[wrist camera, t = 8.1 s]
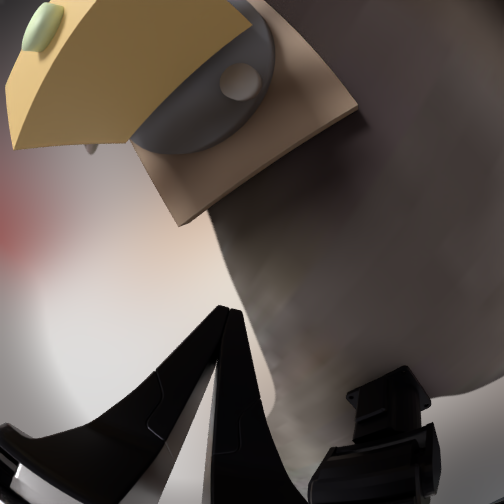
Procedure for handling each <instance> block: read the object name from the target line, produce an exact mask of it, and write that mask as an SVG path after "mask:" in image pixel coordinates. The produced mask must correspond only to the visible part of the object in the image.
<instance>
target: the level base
mask: <svg viewBox="0 0 504 504" xmlns="http://www.w3.org/2000/svg"><path fill="white" fill-rule="evenodd" d="M227 1H228V2H229V3H230V4H231V5H232V6H234V7H235V8H236V9H237V10H238V11H239V12H240V13H241V14H242V15H243V16H244V17H245V18H246V19H247V20H248V21H249V22H250V23H251V24H252V26H251V27H249V28H248V29H246V30H245V31H244V32H242V33H241V34H239V35H238V36H237V37H235V38H234V39H233V40H232V41H230V42H229V43H228V44H226V45H225V46H224V47H223V48H221V49H220V50H219V51H218V52H216V53H215V54H214V55H213V56H212V57H210V58H209V59H208V60H207V61H206V62H204V63H203V64H202V65H201V66H200V67H199V68H198V69H196V70H195V71H194V72H193V73H192V74H191V75H190V76H189V77H188V78H187V79H185V80H184V81H183V82H182V83H181V84H180V85H179V86H178V87H177V88H176V89H175V90H174V91H173V92H172V93H171V94H170V95H169V96H168V97H167V98H166V99H165V100H164V101H163V102H162V103H161V104H160V105H159V106H158V107H157V108H156V109H155V110H154V111H153V112H152V114H151V115H150V116H149V117H148V118H147V119H146V120H145V121H144V122H143V123H142V125H141V126H140V127H139V128H138V129H137V130H136V131H135V133H134V134H133V135H132V136H131V137H130V138H129V139H130V141H131V143H132V145H133V147H134V149H135V151H136V153H137V154H138V156H139V158H140V160H141V162H142V164H143V166H144V167H145V169H146V171H147V173H148V175H149V176H150V178H151V180H152V182H153V184H154V185H155V187H156V189H157V191H158V192H159V194H160V196H161V197H162V199H163V201H164V203H165V205H166V206H167V208H168V210H169V212H170V213H171V215H172V217H173V218H174V220H175V222H176V223H177V225H178V227H180V226H182V225H185V224H188V223H190V222H191V221H192V220H194V219H195V218H196V217H198V216H199V215H200V214H202V213H203V212H204V211H206V210H207V209H208V208H210V207H211V206H212V205H214V204H215V203H216V202H218V201H219V200H221V199H222V198H223V197H225V196H226V195H228V194H229V193H230V192H232V191H233V190H235V189H236V188H237V187H239V186H240V185H242V184H243V183H244V182H246V181H247V180H249V179H250V178H252V177H253V176H254V175H256V174H257V173H259V172H260V171H262V170H263V169H265V168H266V167H268V166H269V165H271V164H272V163H274V162H275V161H277V160H278V159H280V158H281V157H283V156H284V155H286V154H287V153H289V152H290V151H292V150H293V149H295V148H296V147H298V146H299V145H301V144H302V143H304V142H306V141H307V140H309V139H310V138H312V137H313V136H315V135H317V134H318V133H320V132H321V131H323V130H325V129H326V128H328V127H330V126H331V125H333V124H334V123H336V122H338V121H339V120H341V119H343V118H344V117H346V116H348V115H349V114H351V113H353V112H354V111H356V110H358V104H357V103H356V102H355V100H354V99H353V97H352V96H351V95H350V93H349V92H348V91H347V89H346V88H345V87H344V86H343V84H342V83H341V82H340V80H339V79H338V78H337V77H336V75H335V74H334V73H333V72H332V70H331V69H330V68H329V67H328V66H327V64H326V63H325V62H324V61H323V60H322V59H321V57H320V56H319V55H318V54H317V53H316V52H315V51H314V49H313V48H312V47H311V46H310V45H309V44H308V43H307V42H306V41H305V40H304V39H303V38H302V37H301V35H300V34H299V33H298V32H297V31H296V30H295V29H294V28H293V27H292V26H291V25H290V24H289V23H288V22H287V21H286V20H285V19H284V18H283V17H281V16H280V15H279V14H278V13H277V12H276V11H275V10H274V9H273V8H272V7H271V6H270V5H268V4H267V3H266V2H265V1H264V0H227Z"/></svg>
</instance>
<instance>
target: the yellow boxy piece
mask: <svg viewBox="0 0 504 504" xmlns="http://www.w3.org/2000/svg"><path fill="white" fill-rule="evenodd" d="M251 26H252V24H251V23H250V22H249V21H248V20H247V19H246V18H245V17H244V16H243V15H242V14H241V13H240V12H239V11H238V10H237V9H236V8H235V7H234V6H232V5H231V4H230V3H229V2H228V1H227V0H51V1H50V2H49V3H46V2H45V3H43V4H42V5H41V6H40V7H39V8H38V9H37V11H36V12H35V14H34V15H33V17H32V19H31V20H30V22H29V24H28V27H27V29H26V32H25V34H24V37H23V42H22V50H21V52H20V54H19V57H18V58H17V61H16V63H15V65H14V67H13V69H12V72H11V74H10V76H9V79H8V81H7V84H6V86H5V89H6V102H7V112H8V119H9V127H10V133H11V139H12V145H13V150H20V149H28V148H38V147H49V146H61V145H78V144H107V143H108V144H111V143H126V142H127V141H128V140H129V138H130V137H131V136H132V135H133V134H134V133H135V131H136V130H137V129H138V128H139V127H140V126H141V125H142V123H143V122H144V121H145V120H146V119H147V118H148V117H149V116H150V115H151V114H152V112H153V111H154V110H155V109H156V108H157V107H158V106H159V105H160V104H161V103H162V102H163V101H164V100H165V99H166V98H167V97H168V96H169V95H170V94H171V93H172V92H173V91H174V90H175V89H176V88H177V87H178V86H179V85H180V84H181V83H182V82H183V81H184V80H185V79H187V78H188V77H189V76H190V75H191V74H192V73H193V72H194V71H195V70H196V69H198V68H199V67H200V66H201V65H202V64H203V63H204V62H206V61H207V60H208V59H209V58H210V57H212V56H213V55H214V54H215V53H216V52H218V51H219V50H220V49H221V48H223V47H224V46H225V45H226V44H228V43H229V42H230V41H232V40H233V39H234V38H235V37H237V36H238V35H239V34H241V33H242V32H244V31H245V30H246V29H248V28H249V27H251Z"/></svg>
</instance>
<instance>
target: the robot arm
mask: <svg viewBox="0 0 504 504" xmlns="http://www.w3.org/2000/svg"><path fill="white" fill-rule="evenodd" d="M216 363H217V364H216ZM215 366H216V371H215V380H214V388H213V396H212V405H211V414H210V424H209V432H208V433H209V434H208V443H207V452H206V462H205V472H204V483H203V494H202V504H430V496H433V495H436V494H437V489H438V485H439V480H440V475H441V456H440V446H439V442H438V438H437V435H436V431H435V427H434V424H433V422H432V423H429V424H427V425H426V426H423V427H421V411H423V410H425V409H427V408H429V407H430V406H431V400H430V398H429V397H428V395H427V394H426V392H425V391H424V389H423V388H422V386H421V385H420V383H419V382H418V380H417V379H416V377H415V376H414V374H413V373H412V371H411V370H410V369H409V367H408V366H401V367H399V368H398V369H396V370H394V371H392V372H390V373H388V374H386V375H384V376H382V377H380V378H378V379H376V380H374V381H372V382H369V383H367V384H365V385H363V386H361V387H359V388H356V389H354V390H352V391H349V392H348V393H347V395H346V399H347V400H348V401H349V402H350V403H351V404H352V406H353V407H354V408H355V409H356V415H355V422H356V423H355V429H354V435H353V440H352V441H353V442H354V443H355V444H354V445H349V446H343V447H331V448H330V449H329V451H328V453H327V454H326V456H325V458H324V459H323V461H322V462H321V464H320V466H319V467H318V469H317V470H316V472H315V473H314V475H313V476H312V478H311V480H310V482H309V484H308V502H309V503H308V502H307V501H306V500H305V498H304V497H303V496H302V495H301V494H300V492H299V491H298V490H297V489H296V487H295V486H294V485H293V483H292V482H291V480H290V478H289V476H288V475H287V473H286V470H285V468H284V466H283V463H282V461H281V459H280V456H279V454H278V451H277V449H276V446H275V444H274V441H273V439H272V436H271V433H270V430H269V427H268V425H267V421H266V417H265V414H264V410H263V406H262V401H261V399H260V393H259V389H258V384H257V379H256V374H255V371H254V365H253V360H252V356H251V351H250V346H249V342H248V338H247V332H246V327H245V322H244V317H243V313H242V311H241V310H237V309H229V308H228V307H225V306H221V305H218V306H217V307H216V308H215V309H214V310H213V311H212V312H211V313H210V314H209V315H208V316H207V317H206V318H205V319H204V320H203V321H202V322H201V323H200V324H199V325H198V326H197V327H196V328H195V330H193V331H192V332H191V334H190V335H189V336H188V337H187V338H186V339H185V340H184V341H183V342H182V343H181V344H180V345H179V346H178V347H177V348H176V349H175V350H174V351H173V352H172V353H171V354H170V355H169V356H168V357H167V358H166V359H165V360H164V361H163V362H162V363H161V364H160V366H159V367H157V368H156V371H153V372H152V373H151V374H150V375H149V376H148V377H147V379H145V380H144V381H143V382H142V383H141V384H140V385H139V386H138V387H137V388H136V389H135V390H133V391H132V392H131V393H130V394H129V395H127V396H126V397H125V398H124V399H122V400H121V401H120V402H118V403H117V404H115V405H114V406H113V407H111V408H110V409H109V410H107V411H106V412H105V413H103V414H102V415H101V416H99V417H98V418H96V419H95V420H93V421H92V422H90V423H88V424H85V425H83V426H80V427H77V428H74V429H70V430H67V431H64V432H60V433H57V434H53V435H50V436H46V437H43V438H37V439H35V438H32V437H30V436H29V435H27V434H25V433H24V432H22V431H21V430H19V429H18V428H16V427H14V426H13V425H11V424H9V423H4V424H2V425H0V504H158V502H159V499H160V497H161V495H162V492H163V490H164V487H165V485H166V483H167V481H168V478H169V476H170V473H171V471H172V469H173V467H174V464H175V462H176V460H177V457H178V455H179V452H180V450H181V448H182V445H183V443H184V441H185V438H186V436H187V434H188V431H189V429H190V426H191V424H192V421H193V419H194V417H195V414H196V412H197V410H198V407H199V405H200V402H201V400H202V398H203V395H204V393H205V391H206V388H207V386H208V383H209V381H210V378H211V375H212V374H213V371H214V369H215ZM402 371H405V372H402ZM494 504H504V500H502V501H500V502H497V503H494Z"/></svg>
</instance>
